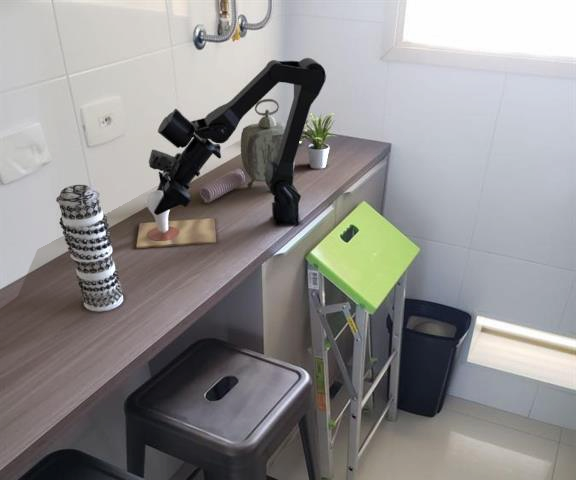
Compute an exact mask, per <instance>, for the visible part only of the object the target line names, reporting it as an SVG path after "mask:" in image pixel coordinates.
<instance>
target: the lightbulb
mask: <svg viewBox="0 0 576 480" xmlns="http://www.w3.org/2000/svg"><path fill="white" fill-rule="evenodd" d="M162 196H163V191H160V190H157V189H156V190H153V191H151V192H150V193H148V195H147V197H146V207H147V209H148V211H149V212H150V214H151V215H152V216H153V217H154V220H155V222H156V224H157V225H158V229H159V231H160V232H162V233H165V232H166V231H168V221H169V214H170V211H171V209H170V210H167V211H165V212H163V213H161V214H159V215H156V214H155V213H154V211H155V209H156V207H157V205H158V203H159V201H160V200H161V198H162Z"/></svg>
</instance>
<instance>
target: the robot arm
mask: <svg viewBox="0 0 576 480" xmlns="http://www.w3.org/2000/svg"><path fill="white" fill-rule="evenodd" d="M326 80H327V73H326V70H325V68H324V67H323V66H322V64H320V63H319V62H318V61H316V60H315V59H313V58H311V57H305V58H302V59H301V60H276V59H272V60H270V61H268V63H267V64H266V65H265V67H264V68H262V70H260V71H259V73H257V75H255V76H254V77H253V78H252V79H251V80H250V81H249V82H248V83H247V84H246V85H245V86H244V87H243V88H242V89H241V90H240V91H238V93H237V94H236V95H235V96H234V97H233V98H231V100H229V101H228V102H226V103H225V104H222V105H219V106H218V107H216V108H215V109H214V110H212V111H210V112H209V113H207V115H206V116H205V117H202V118H197V119H195V120H191V121H190V120H189V119H188V118H187V117H186V116H184V114H182V113H181V111H180V110H178V109H177V108H174V110H172V112H170V113H168V115H166V116H165V117H164V118H163V119H162V121H161V123H160V125H158V129H157V133H158V134H159V135H161V137H163V138H164V139H166V141H168V142H169V143H170V144H171V145H173V146H174V147H176V148H177V149H179V148H181V149H183V150H182V152H177V153H176V154H175V155H174V156H173V155H171V154H168V153H165V152H163V151H159V150H158V149H151V152H150V155H149V159H148V165H149V168H151V169H152V170H158V178H159V183H158V186H157V187H156V188H157V189H156V190H160V191H163V196H162V198H161V200H160V201H159V203H158V205H157V207H156V209H155V211H154V213H155V214H156V215H159V214H161V213H163V212H165V211H167V210H170V211H171V210H173V209H174V208H177V207H179V206H183V207H184V208H187V207H188V205H189V204H190V203H191V202H192V201H191V195H190V192H189V189H190V188H191V186H190V184H191V182H192V181H193V180H194V178H195V177H197V178H198V177H199V176H200V175H201V172H200V170H201V169H202V168H203V167H204V166H205V164H206V163H207V161H209V159H210V158H211V157H212V155H214V156H215V157H216V158H218V159H221V158H222V154H221V148H222V147H221V145H220V144H225V143H226V142H227V141H229V140H230V138H231V136H232V135H233V134H234V132H236V130H237V128H238V126H239V124H240V123H241V120H242V119H243V117H244V116H246V114H247V113H249V112H250V110H251V109H253V108H255V106H256V104H257V103H258V102H259V101H261V100H263V98H264V97H265V96H267V94H268V93H269V92H271V90H273V89H274V87H276V86H277V85H278V84H279V83H285V84H290V85H293V99H292V103H291V106H290V110H289V113H288V117H287V120H286V124H285V126H286V127H285V131H284V134H283V138H282V141H281V145H280V148H279V152H278V155H277V157H276V158H275V159H274V161H273V162H272V161H270V160H268V162H267V168H266V171H265V173H264V176H265V181H264V183H265V184H266V186H267V188H268V189H269V191H270V193H271V194H272V195H273V202H271V215H272V216H271V217H272V220H273V222H274V224H275V226H291V225H300V224H301V222H300V218H299V216H300V215H299V203H300V200H301V197H302V196H301V194H300V193H299V191H298V189H297V188H296V186H295V185H294V178H295V177H294V175H295V174H294V173H295V171H294V170H295V166H294V160H295V161H296V156H297V153H298V149H299V143H300V140H301V137H302V133H303V130H304V127H305V123H306V121H307V120H308V118H309V114H310V110H311V106H312V105H313V103H314V102H315V100H316V99H317V98H318V97H319V95H320V93H321V91H322V89H323V87H324V85H325V82H326Z"/></svg>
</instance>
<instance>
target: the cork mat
mask: <svg viewBox="0 0 576 480" xmlns="http://www.w3.org/2000/svg"><path fill="white" fill-rule="evenodd" d="M203 244H217V238H216V226H215V217H214V218H213V217H211V218H197V219H196V218H195V219H183V220H182V219H181V220H168V231H166V232H165V233H162V232H160V231H159V229H158V225H157V224H156V221H153V222H140V223H139V225H138V231H137V238H136V246H135V248H136V249H147V248H148V249H149V248H160V247H162V248H163V247H175V246H189V245H191V246H192V245H203Z"/></svg>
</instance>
